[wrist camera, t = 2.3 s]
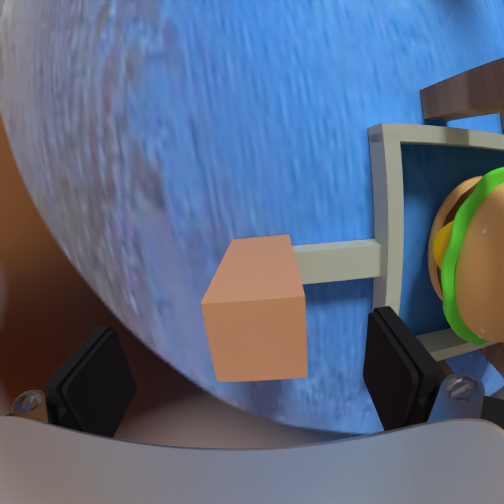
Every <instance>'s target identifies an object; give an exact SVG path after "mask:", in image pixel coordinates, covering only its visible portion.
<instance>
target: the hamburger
mask: <svg viewBox="0 0 504 504" xmlns="http://www.w3.org/2000/svg"><path fill="white" fill-rule="evenodd" d="M427 257H428V270H429V275H430V280H431V282H432V285H433V288H434V290H435V292H436V293H437V295H438V296H439V298H440V299H441V300H442V301H443V311H444V315H445V317H446V319H447V321H448V323H449V325H450V326H451V328H452V329H453V331H454V332H455V333H456V334H457V335H458V336H459V337H461V338H462V339H464V340H466V341H468V342H471V343H473V344H476V345H483V344H485V343H487V342H489V341H491V342H502V343H504V167H502V168H498V169H495V170H493V171H490V172H488V173H487V174H485V175H484V176H477V177H472V178H470V179H468V180H466V181H464V182H462V183H461V184H460V185H458V186H457V187H456V188H455V189H454V190H453V191H452V192H451V193H450V194H449V195H448V196H447V197H446V199H445V200H444V202H443V203H442V205H441V206H440V208H439V210H438V212H437V214H436V216H435V219H434V222H433V225H432V228H431V231H430V236H429V241H428V252H427Z"/></svg>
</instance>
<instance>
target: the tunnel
mask: <svg viewBox="0 0 504 504" xmlns="http://www.w3.org/2000/svg"><path fill="white" fill-rule="evenodd" d="M420 95H421V101H422V107H423V114H424V119H430V120H441V121H451V120H457V119H463V118H469V117H475V116H481V115H488V114H496V113H501V120H502V128H503V130H504V58H501V59H498V60H495V61H492V62H489V63H487V64H484V65H481V66H479V67H476V68H473V69H471V70H468V71H465V72H463V73H460V74H458V75H455V76H453V77H450V78H448V79H446V80H443V81H441V82H438V83H436V84H434V85H431V86H429V87H427V88H424V89H422V90H420ZM481 353H482V354H483V355H484V356H485V357H486V358H487V359H488V361H489V362H490V363H491V364H492V365H493V366H494V367H495V368H496V370H497V371H498V372H499V373H500V374H501V375H502V377H503V378H504V343H502V342H498V343H495V344H493V345H490V346H487V347H484V348H482V351H481ZM436 362H437V363H438V365H439V366H440V367H441V368H442V370H443V371H444V372H445V374H446V375H447V376H450V375H452V374H454V372H453V371H452V370H451V368H450V367H449V366H448V364H447V363H446V362H445V360H440V361H436Z"/></svg>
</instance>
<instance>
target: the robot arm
mask: <svg viewBox="0 0 504 504" xmlns="http://www.w3.org/2000/svg"><path fill="white" fill-rule="evenodd" d="M363 377H364V382H365V384H366V386H367V389H368V391H369V394H370V396H371V398H372V401H373V403H374V406H375V408H376V410H377V413H378V415H379V418H380V420H381V423H382V425H383V428H384V430H385V431H383V432H378V433H373V434H369V435H364V436H358V437H353V438H347V439H341V440H334V441H328V442H320V443H312V444H303V445H293V446H280V447H263V448H199V447H181V446H169V445H159V444H151V443H143V442H135V441H129V440H122V439H116V438H113V437H114V435H115V433H116V431H117V429H118V426H119V425H120V423H121V421H122V419H123V417H124V415H125V413H126V411H127V409H128V407H129V405H130V403H131V401H132V399H133V397H134V396H135V394H136V383H135V381H134V379H133V376H132V373H131V371H130V368H129V365H128V363H127V360H126V357H125V355H124V352H123V349H122V346H121V343H120V340H119V337H118V334H117V332H116V331H114V330H113V329H112V328H111V327H97V328H96V329H95V330H94V331H93V332H92V333H91V334H90V335H89V336H88V337H87V338H86V339H85V340H84V341H83V343H82V344H81V345H80V346H79V347H78V348H77V349H76V350H75V351H74V352H73V353H72V355H71V356H70V357H69V358H68V359H67V360H66V361H65V362H64V363H63V364H62V366H61V367H60V368H59V369H58V370H57V371H56V372H55V374H54V375H53V376H52V377H51V378H50V379H49V380H48V381H47V383H46V384H45V385H44V387H45V389H46V391H47V393H48V394H47V395H46V396H45V395H44V394H43V393H42V392H41V391H38V390H31V391H27V392H25V393H23V394H21V395H20V396H19V397H18V398H17V399H16V400H15V401H14V404H13V413H11V414H9V415H6V416H0V504H504V400H501V399H497V398H493V397H488V396H484V393H485V390H484V386H483V384H482V382H481V381H480V380H479V379H478V378H476V377H475V376H473V375H470V374H467V373H456V374H452V375H450V376H447V375H446V374H445V372H444V371H443V370H442V368H441V367H440V366H439V365H438V363H437V362H436V361H435V359H434V358H433V357H432V356H431V354H430V353H429V352H428V351H427V349H426V348H425V347H424V345H423V344H422V343H421V342H420V341H419V339H418V338H417V337H415V336H414V334H413V333H412V332H411V331H410V329H409V328H408V327H407V326H406V325H405V323H404V322H403V321H402V320H401V319H400V317H399V316H398V315H397V314H396V313H395V311H394V310H393V309H392V308H391V307H390V306H384V307H378V308H374V310H373V312H371V313H369V315H368V328H367V340H366V351H365V361H364V370H363Z"/></svg>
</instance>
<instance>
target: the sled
mask: <svg viewBox="0 0 504 504" xmlns="http://www.w3.org/2000/svg"><path fill="white" fill-rule="evenodd" d="M368 136H369V145H370V156H371V169H372V184H373V204H374V239H364V240H352V241H341V242H330V243H318V244H307V245H296V246H292V243H291V240H290V236H289V234H286V235H274V236H263V237H253V238H242V239H232V241H231V243H230V245H229V247H228V249H227V251H226V253H225V255H224V257H223V259H222V261H221V263H220V265H219V267H218V269H217V271H216V273H215V275H214V277H213V279H212V281H211V283H210V285H209V287H208V290H207V292H206V294H205V296H204V298H203V300H202V302H201V308H202V313H203V318H204V323H205V328H206V333H207V338H208V342H209V347H210V352H211V356H212V361H213V365H214V369H215V374H216V378H217V382H240V381H263V380H279V379H292V378H303V377H307V332H306V304H305V293H304V289H303V285H302V284H313V283H323V282H333V281H342V280H352V279H361V278H370V277H374V282H373V303H372V312H373V310H374V308H378V307H384V306H390V307H391V308H392V309H393V310H394V311H395V313H396V314H397V315H398V316H399V307H400V297H401V285H402V270H403V247H404V195H403V173H402V158H401V146H400V144H420V145H441V146H455V147H468V148H478V149H488V150H496V151H504V135H502V134H496V133H490V132H483V131H476V130H469V129H461V128H452V127H442V126H430V125H416V124H396V123H381V124H378V125H375V126H372V127H369V128H368ZM415 337H417V338H418V339H419V341H420V342H421V343H422V344H423V345H424V347H425V348H426V349H427V351H428V352H429V353H430V354H431V356H432V357H433V358H434V359H435V361H440V360H444V359H447V358H451V357H455V356H458V355H461V354H465V353H468V352H471V351H474V350H478V349H481V348H484V347H487V346H490V345H493V344H495V343H498V342H491V341H489V342H487V343H485V344H483V345H476V344H473V343H471V342H468V341H466V340H464V339H462V338H461V337H459V336H458V335H457V334H456V333H455V332H454V331H453V329H452V328H448V329H444V330H440V331H435V332H431V333H426V334H421V335H416V336H415Z"/></svg>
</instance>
